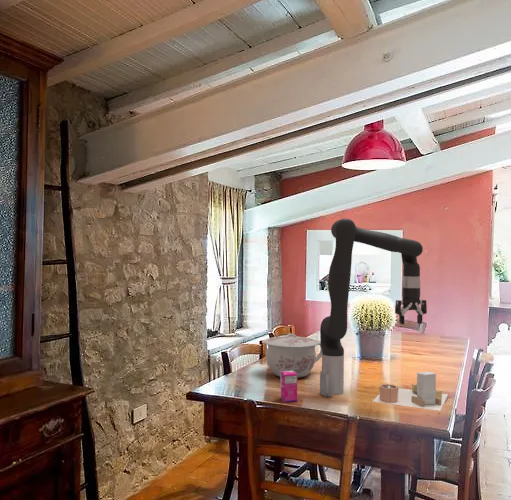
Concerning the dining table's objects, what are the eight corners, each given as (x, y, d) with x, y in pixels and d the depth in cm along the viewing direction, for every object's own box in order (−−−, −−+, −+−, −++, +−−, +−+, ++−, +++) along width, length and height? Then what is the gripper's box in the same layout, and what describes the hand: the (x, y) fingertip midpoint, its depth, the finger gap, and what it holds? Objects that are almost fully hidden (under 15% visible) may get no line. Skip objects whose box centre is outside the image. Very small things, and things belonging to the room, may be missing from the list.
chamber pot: (254, 378, 251) (254, 335, 251) (273, 367, 277) (274, 327, 277) (311, 385, 241) (311, 339, 241) (325, 372, 267) (326, 331, 267)
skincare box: (429, 401, 212) (429, 371, 212) (436, 404, 208) (436, 373, 208) (416, 402, 210) (416, 371, 210) (422, 405, 206) (422, 374, 206)
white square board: (372, 404, 212) (372, 392, 212) (386, 389, 235) (386, 378, 235) (440, 413, 200) (440, 401, 200) (448, 397, 224) (448, 386, 224)
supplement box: (279, 398, 218) (280, 371, 218) (293, 397, 220) (293, 370, 220) (283, 402, 213) (284, 374, 213) (297, 401, 214) (298, 373, 214)
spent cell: (387, 400, 212) (387, 386, 212) (383, 398, 215) (384, 384, 215) (393, 399, 213) (393, 386, 213) (390, 398, 215) (390, 384, 215)
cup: (385, 403, 209) (385, 389, 209) (376, 398, 216) (377, 384, 216) (400, 401, 211) (401, 388, 211) (391, 397, 218) (391, 383, 218)
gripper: (401, 287, 223) (401, 325, 223) (430, 287, 227) (430, 324, 227) (392, 286, 231) (391, 323, 231) (420, 286, 235) (420, 322, 235)
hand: (410, 324), depth 229 cm, fingers open, 8 cm apart
